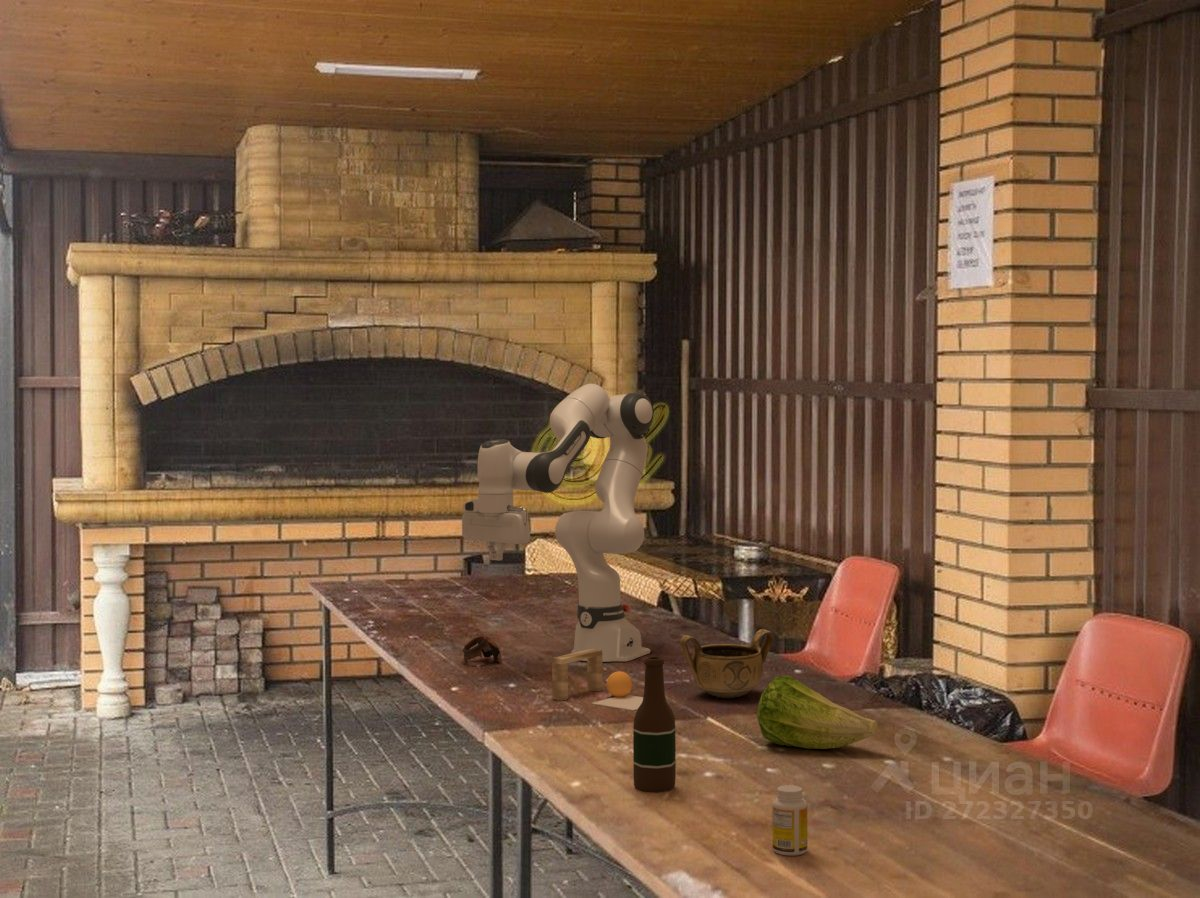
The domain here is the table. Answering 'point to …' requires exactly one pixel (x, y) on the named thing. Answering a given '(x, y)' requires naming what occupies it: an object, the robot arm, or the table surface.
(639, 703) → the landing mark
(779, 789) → the supplement bottle
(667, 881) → the table surface
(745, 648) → the ceramic bowl
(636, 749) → the beer bottle
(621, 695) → the ball
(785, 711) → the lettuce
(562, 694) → the bridge
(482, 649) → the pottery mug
